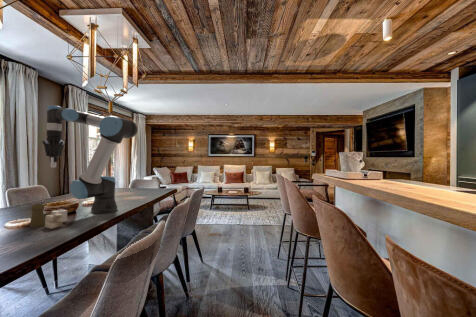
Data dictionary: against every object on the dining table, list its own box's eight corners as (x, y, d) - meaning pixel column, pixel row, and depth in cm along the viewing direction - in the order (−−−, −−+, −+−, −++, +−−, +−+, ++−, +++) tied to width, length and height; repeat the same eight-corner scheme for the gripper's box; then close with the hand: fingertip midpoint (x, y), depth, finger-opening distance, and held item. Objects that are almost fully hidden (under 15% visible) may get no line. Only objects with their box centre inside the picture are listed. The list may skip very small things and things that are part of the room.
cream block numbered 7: (61, 220, 128) (61, 209, 128) (67, 221, 126) (67, 209, 126) (51, 222, 123) (51, 210, 123) (57, 223, 121) (57, 211, 121)
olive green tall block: (45, 225, 117) (46, 204, 117) (29, 228, 112) (30, 206, 112) (44, 223, 121) (44, 202, 121) (29, 225, 117) (29, 204, 117)
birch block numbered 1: (56, 224, 119) (56, 212, 119) (62, 226, 117) (62, 214, 117) (45, 227, 115) (45, 215, 115) (51, 228, 113) (51, 216, 113)
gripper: (68, 131, 149) (68, 167, 149) (48, 130, 149) (47, 167, 149) (60, 129, 142) (59, 167, 142) (38, 129, 141) (37, 167, 141)
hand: (53, 167), depth 145 cm, fingers closed
